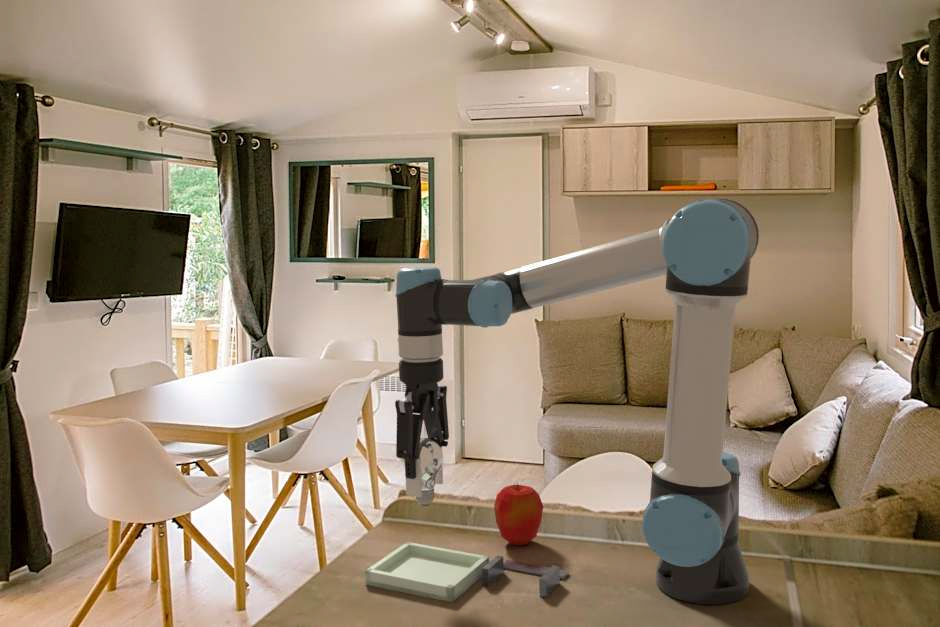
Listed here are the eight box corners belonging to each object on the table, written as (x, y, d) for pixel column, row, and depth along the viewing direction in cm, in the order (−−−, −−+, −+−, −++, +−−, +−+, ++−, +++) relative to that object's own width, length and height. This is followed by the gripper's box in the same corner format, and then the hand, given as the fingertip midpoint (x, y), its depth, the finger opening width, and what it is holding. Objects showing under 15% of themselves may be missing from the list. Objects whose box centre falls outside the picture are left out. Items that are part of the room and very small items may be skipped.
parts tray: (489, 570, 158) (489, 556, 157) (451, 602, 145) (451, 588, 145) (407, 554, 165) (407, 541, 165) (365, 584, 153) (365, 570, 153)
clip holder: (568, 574, 155) (568, 557, 155) (546, 597, 146) (546, 580, 146) (506, 562, 160) (506, 547, 160) (481, 584, 152) (481, 568, 151)
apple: (496, 553, 165) (494, 490, 163) (493, 534, 174) (492, 475, 172) (545, 551, 165) (544, 489, 164) (541, 533, 174) (540, 474, 173)
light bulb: (440, 513, 150) (437, 444, 148) (400, 511, 151) (397, 443, 149) (449, 498, 156) (446, 432, 154) (411, 497, 158) (408, 432, 156)
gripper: (430, 347, 161) (433, 470, 164) (370, 367, 143) (375, 503, 146) (466, 349, 157) (470, 475, 160) (410, 370, 140) (414, 510, 143)
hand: (424, 488), depth 153 cm, fingers closed on light bulb, 6 cm apart
